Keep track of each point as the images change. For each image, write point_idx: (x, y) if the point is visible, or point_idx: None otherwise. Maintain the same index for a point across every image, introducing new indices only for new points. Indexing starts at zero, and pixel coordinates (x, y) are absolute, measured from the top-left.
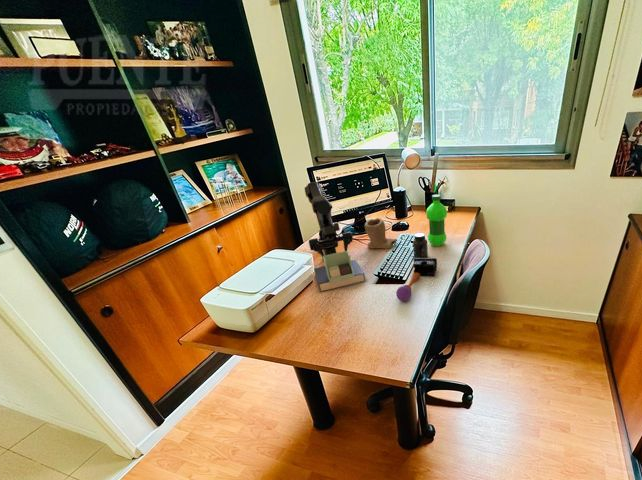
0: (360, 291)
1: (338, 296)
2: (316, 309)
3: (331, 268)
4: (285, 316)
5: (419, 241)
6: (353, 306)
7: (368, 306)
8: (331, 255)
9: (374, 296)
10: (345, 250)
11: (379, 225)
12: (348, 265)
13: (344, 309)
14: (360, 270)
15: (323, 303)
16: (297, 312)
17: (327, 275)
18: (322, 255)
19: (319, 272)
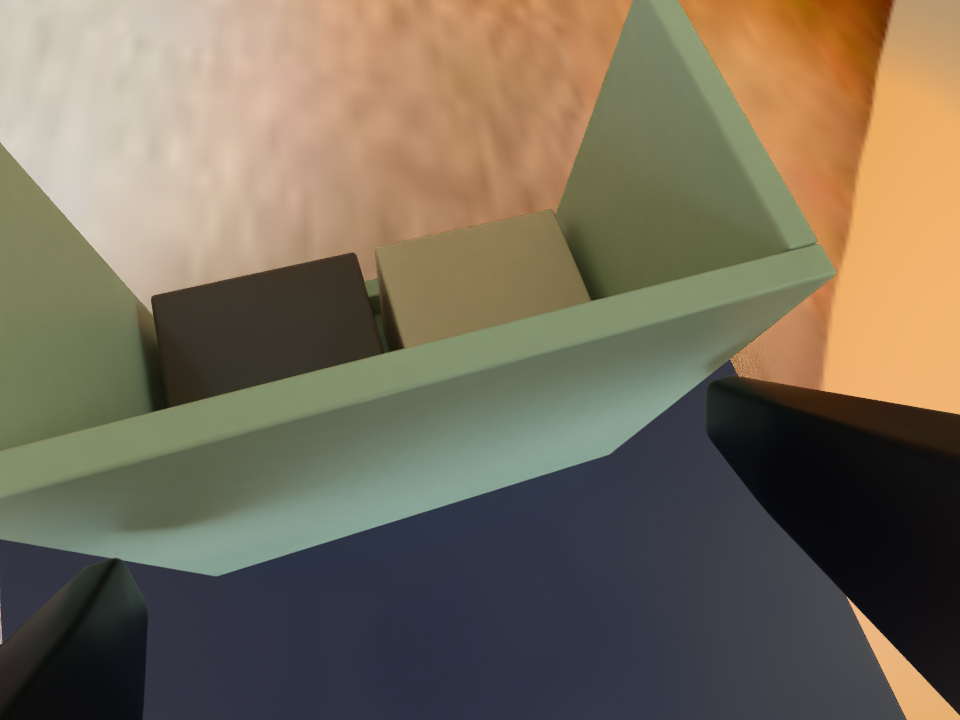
0: (174, 249)
1: (426, 206)
2: (601, 60)
3: (536, 310)
4: (827, 33)
5: None
6: (268, 30)
7: (127, 2)
8: (563, 319)
9: (31, 129)
10: (4, 695)
11: None
12: (173, 358)
13: (350, 11)
14: (33, 581)
15: (560, 127)
16: (752, 57)
17: (627, 503)
18: (880, 404)
19: (802, 649)
